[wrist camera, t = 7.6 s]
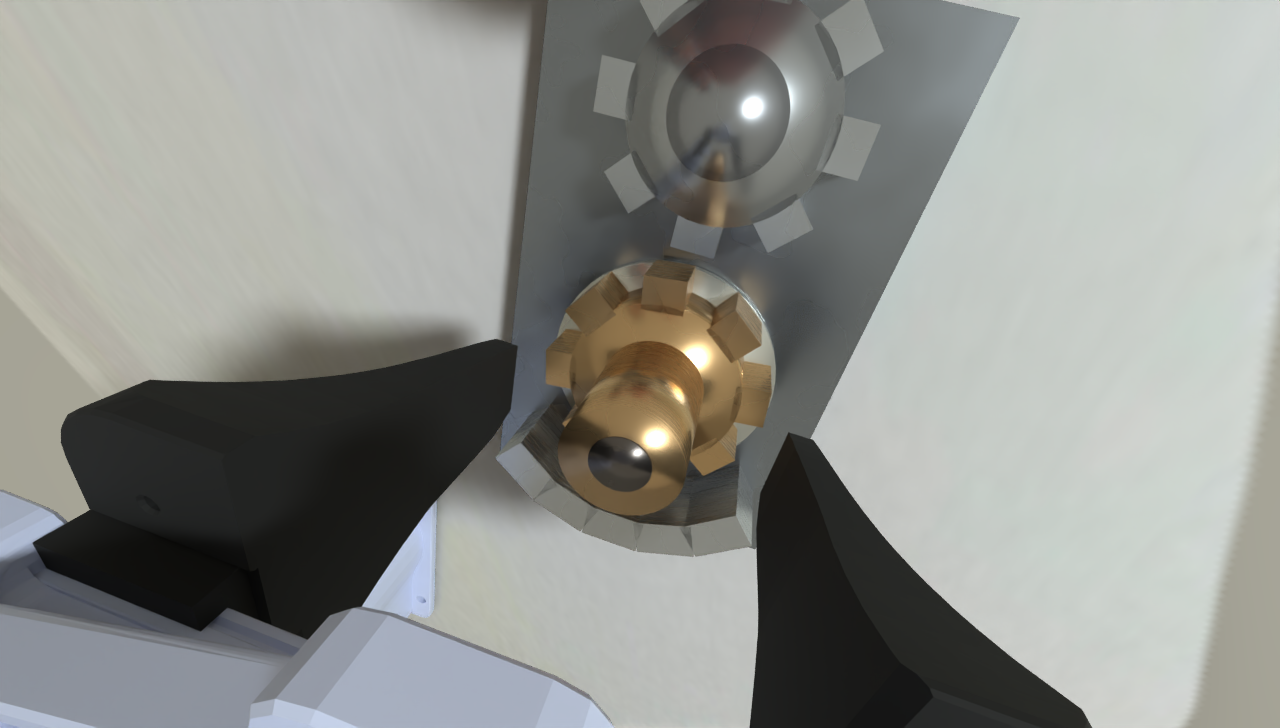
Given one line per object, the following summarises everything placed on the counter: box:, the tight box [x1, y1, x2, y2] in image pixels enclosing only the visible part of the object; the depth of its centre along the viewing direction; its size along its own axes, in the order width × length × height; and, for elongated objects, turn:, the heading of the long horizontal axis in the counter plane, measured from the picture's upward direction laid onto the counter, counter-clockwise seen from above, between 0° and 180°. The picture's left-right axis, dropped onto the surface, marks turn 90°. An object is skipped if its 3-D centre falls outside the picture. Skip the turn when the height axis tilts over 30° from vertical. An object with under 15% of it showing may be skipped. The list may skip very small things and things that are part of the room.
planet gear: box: [546, 260, 772, 515], centre depth 12 cm, size 6×6×5 cm
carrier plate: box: [500, 0, 1020, 549], centre depth 14 cm, size 16×10×1 cm, turn 167°
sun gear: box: [593, 0, 884, 259], centre depth 11 cm, size 6×6×2 cm
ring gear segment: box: [495, 403, 753, 557], centre depth 16 cm, size 3×8×2 cm, turn 77°
